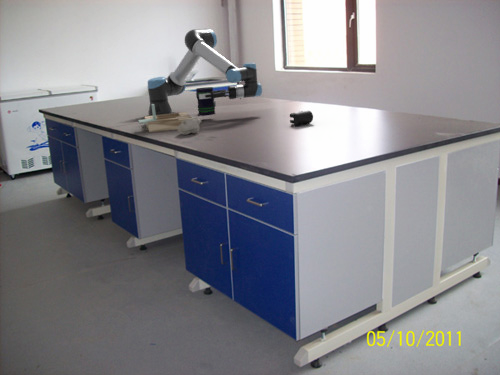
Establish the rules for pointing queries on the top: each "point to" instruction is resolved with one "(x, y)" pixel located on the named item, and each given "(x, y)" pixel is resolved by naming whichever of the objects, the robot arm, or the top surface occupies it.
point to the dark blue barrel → (205, 102)
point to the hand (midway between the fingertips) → (197, 95)
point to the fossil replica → (189, 126)
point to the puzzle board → (166, 121)
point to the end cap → (301, 118)
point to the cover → (149, 119)
